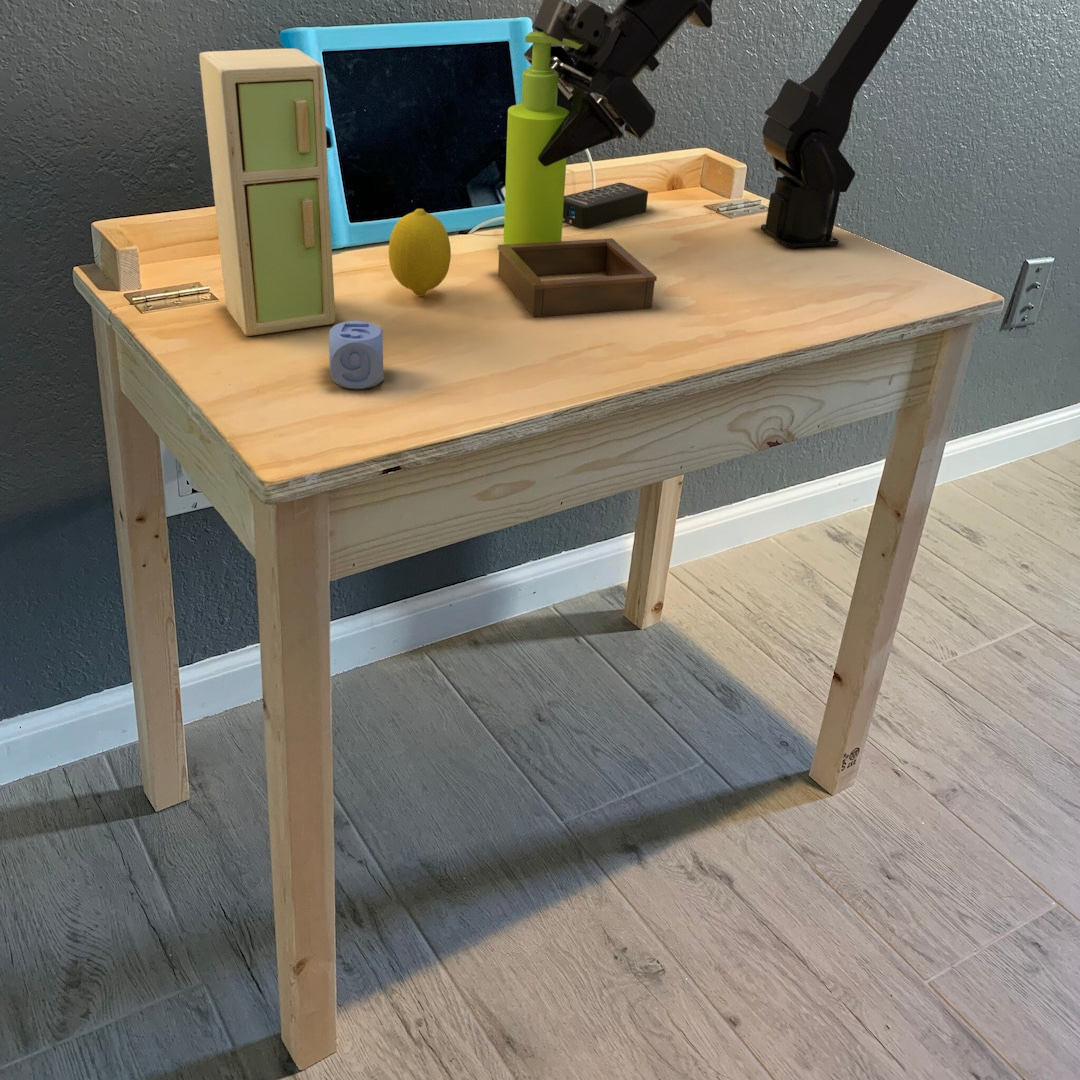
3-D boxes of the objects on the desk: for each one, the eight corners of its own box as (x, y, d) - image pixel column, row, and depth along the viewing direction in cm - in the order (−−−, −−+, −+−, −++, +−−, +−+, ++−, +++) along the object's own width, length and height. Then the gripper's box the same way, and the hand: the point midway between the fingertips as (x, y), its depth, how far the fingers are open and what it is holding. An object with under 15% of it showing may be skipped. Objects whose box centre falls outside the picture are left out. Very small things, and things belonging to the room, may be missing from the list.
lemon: (462, 297, 104) (464, 211, 100) (417, 312, 101) (417, 223, 96) (422, 280, 107) (422, 195, 103) (376, 293, 104) (374, 206, 99)
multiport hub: (647, 211, 130) (650, 190, 128) (582, 229, 123) (584, 207, 121) (618, 201, 132) (620, 181, 131) (553, 218, 125) (554, 197, 124)
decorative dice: (383, 367, 91) (382, 320, 88) (383, 389, 87) (382, 341, 85) (332, 367, 90) (330, 320, 88) (330, 389, 87) (328, 341, 84)
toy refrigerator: (246, 341, 93) (222, 69, 82) (223, 309, 99) (197, 50, 87) (339, 328, 96) (328, 66, 85) (312, 298, 102) (298, 47, 90)
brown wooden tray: (609, 267, 113) (612, 238, 111) (653, 308, 105) (657, 276, 103) (496, 275, 110) (497, 244, 108) (532, 317, 101) (534, 285, 99)
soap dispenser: (563, 258, 113) (577, 44, 101) (496, 249, 114) (503, 36, 102) (576, 238, 118) (591, 31, 106) (511, 230, 119) (519, 23, 107)
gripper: (547, -51, 110) (439, 74, 112) (638, -23, 96) (513, 119, 98) (612, 34, 117) (510, 150, 119) (706, 72, 103) (588, 203, 105)
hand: (528, 154), depth 110 cm, fingers closed on soap dispenser, 6 cm apart
